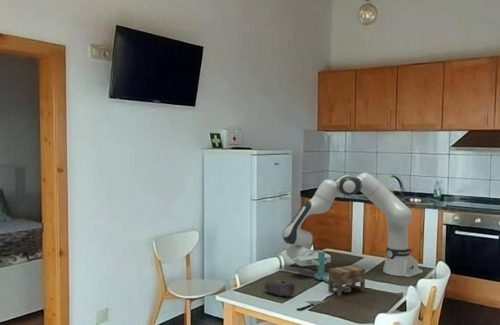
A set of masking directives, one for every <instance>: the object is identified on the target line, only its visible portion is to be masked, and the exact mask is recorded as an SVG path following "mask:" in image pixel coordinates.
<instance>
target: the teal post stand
mask: <svg viewBox="0 0 500 325" xmlns="http://www.w3.org/2000/svg"><path fill="white" fill-rule="evenodd" d="M325 253H326V252H325V251H323V250H320V251H318V261H319V262H320V265H317V274H314V279H317V280H319V281H320V280H321V281H324V282H326V283H329V277H328V275H326V274H325V265H326V264H325ZM324 264H325V265H324ZM335 287H337V284H335V283H333V288H335Z"/></svg>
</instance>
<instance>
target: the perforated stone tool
mask: <svg viewBox="0 0 500 325" xmlns="http://www.w3.org/2000/svg"><path fill="white" fill-rule="evenodd" d="M264 289H265V290H266V292H268V293H269V294H274V295H275V296H279V297H286V298H288V297H292V295H293V294H294V293H295V284H294V283H293V282H291V281H290V282H289V281H285V280H273V279H272V280H269V281H266V282H265V284H264Z"/></svg>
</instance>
